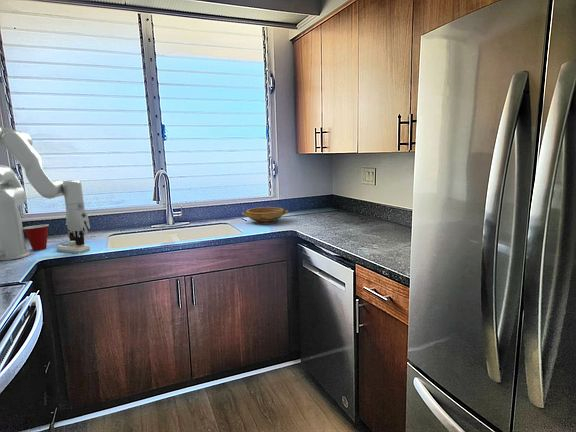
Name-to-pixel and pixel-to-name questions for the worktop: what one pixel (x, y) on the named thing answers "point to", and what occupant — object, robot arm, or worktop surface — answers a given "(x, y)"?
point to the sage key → (72, 243)
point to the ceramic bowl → (265, 214)
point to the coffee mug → (71, 235)
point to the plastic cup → (37, 236)
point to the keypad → (73, 249)
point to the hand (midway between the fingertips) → (80, 244)
